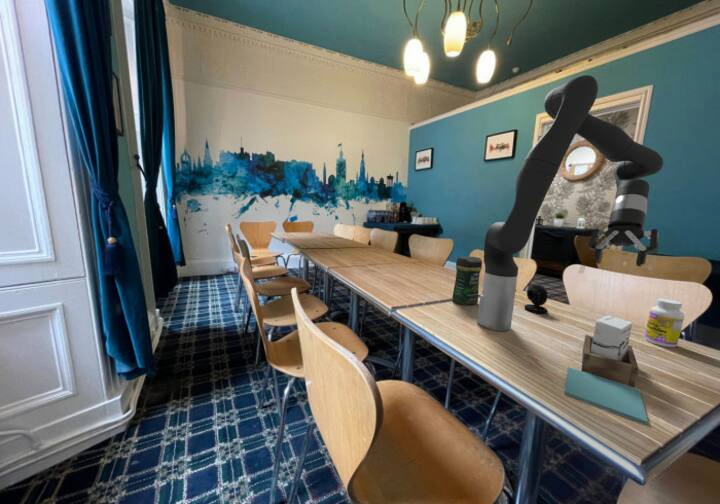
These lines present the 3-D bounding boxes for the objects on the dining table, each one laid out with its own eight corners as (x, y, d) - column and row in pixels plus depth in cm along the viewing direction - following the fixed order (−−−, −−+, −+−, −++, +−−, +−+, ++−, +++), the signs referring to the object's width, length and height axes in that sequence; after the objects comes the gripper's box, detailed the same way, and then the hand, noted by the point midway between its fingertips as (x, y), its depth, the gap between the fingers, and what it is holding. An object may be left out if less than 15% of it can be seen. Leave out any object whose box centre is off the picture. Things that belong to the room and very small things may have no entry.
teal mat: (564, 394, 57) (564, 391, 57) (568, 369, 66) (568, 367, 66) (647, 424, 49) (648, 421, 49) (638, 391, 58) (639, 389, 58)
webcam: (519, 306, 108) (522, 282, 107) (537, 306, 109) (540, 282, 107) (533, 314, 101) (537, 288, 99) (552, 314, 101) (556, 288, 100)
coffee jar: (463, 306, 106) (468, 259, 103) (448, 300, 113) (452, 255, 110) (481, 304, 110) (486, 258, 107) (466, 297, 117) (471, 254, 114)
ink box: (613, 377, 63) (622, 329, 61) (586, 366, 67) (594, 320, 65) (624, 366, 68) (634, 321, 66) (599, 357, 72) (607, 314, 70)
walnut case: (581, 370, 65) (584, 353, 65) (582, 350, 75) (585, 334, 75) (634, 387, 60) (638, 368, 59) (628, 362, 70) (631, 346, 69)
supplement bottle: (637, 337, 85) (646, 297, 83) (657, 337, 85) (666, 297, 83) (663, 348, 78) (673, 305, 76) (684, 348, 79) (694, 305, 77)
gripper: (593, 208, 85) (582, 256, 82) (661, 205, 74) (651, 260, 70) (599, 221, 89) (589, 266, 86) (665, 219, 78) (656, 272, 74)
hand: (617, 263), depth 78 cm, fingers open, 8 cm apart
